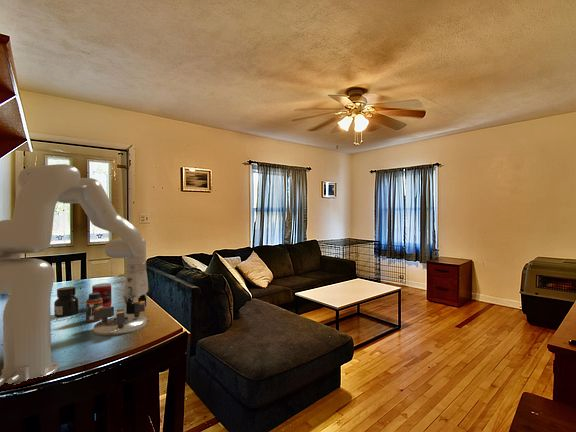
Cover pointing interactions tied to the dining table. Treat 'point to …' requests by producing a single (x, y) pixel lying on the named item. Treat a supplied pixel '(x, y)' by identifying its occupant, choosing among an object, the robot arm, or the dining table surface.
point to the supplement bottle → (93, 306)
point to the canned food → (103, 293)
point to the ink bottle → (66, 302)
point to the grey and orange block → (139, 308)
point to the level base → (112, 327)
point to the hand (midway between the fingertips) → (136, 310)
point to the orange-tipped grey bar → (104, 313)
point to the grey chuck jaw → (120, 317)
